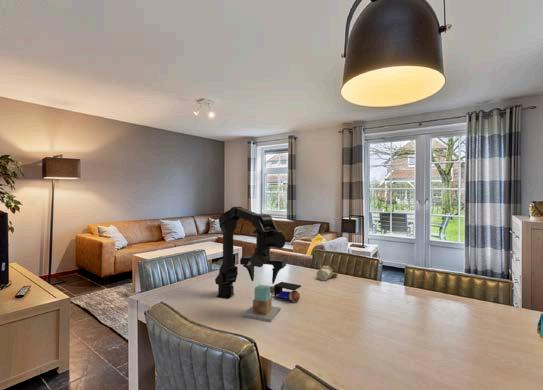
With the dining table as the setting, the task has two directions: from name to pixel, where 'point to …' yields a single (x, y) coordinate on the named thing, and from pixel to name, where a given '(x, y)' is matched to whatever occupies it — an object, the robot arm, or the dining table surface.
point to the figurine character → (278, 291)
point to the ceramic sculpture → (325, 273)
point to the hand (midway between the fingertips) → (262, 282)
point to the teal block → (262, 293)
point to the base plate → (268, 317)
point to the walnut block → (262, 306)
